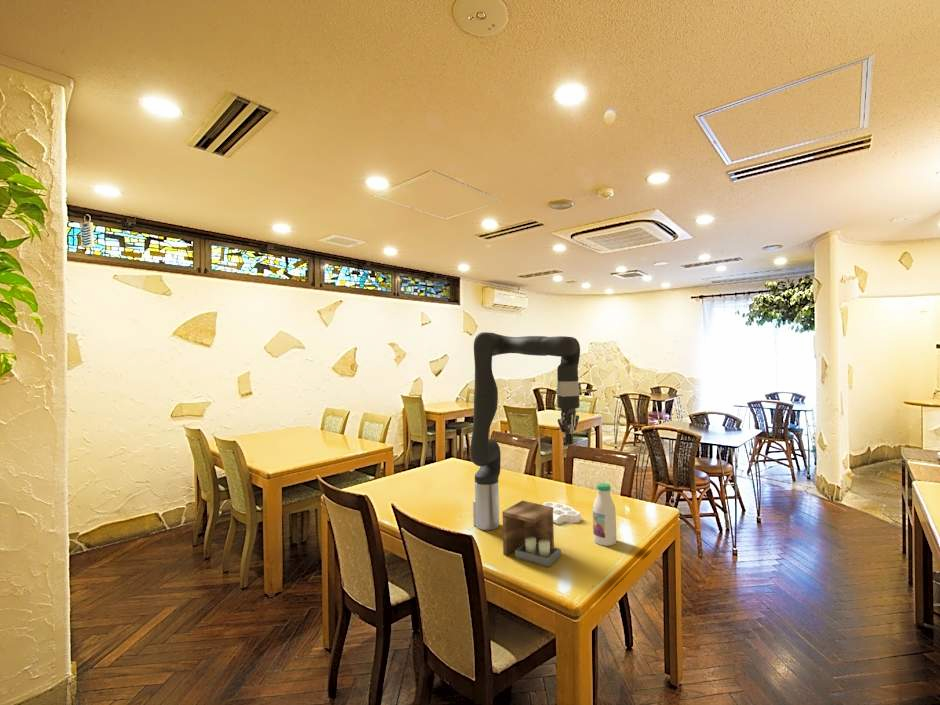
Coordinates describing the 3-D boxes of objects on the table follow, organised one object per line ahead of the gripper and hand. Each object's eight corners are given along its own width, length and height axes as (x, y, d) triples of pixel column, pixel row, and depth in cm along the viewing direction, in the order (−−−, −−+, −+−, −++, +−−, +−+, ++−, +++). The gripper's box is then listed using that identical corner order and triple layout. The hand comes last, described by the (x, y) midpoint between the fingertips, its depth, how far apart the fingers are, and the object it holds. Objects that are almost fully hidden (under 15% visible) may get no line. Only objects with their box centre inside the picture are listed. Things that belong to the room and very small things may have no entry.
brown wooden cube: (503, 554, 139) (502, 511, 139) (523, 540, 149) (522, 500, 149) (535, 564, 132) (534, 519, 132) (553, 549, 142) (552, 507, 142)
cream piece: (536, 558, 135) (536, 542, 135) (541, 553, 138) (541, 538, 138) (547, 561, 133) (546, 545, 133) (551, 556, 136) (551, 541, 136)
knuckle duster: (530, 514, 175) (555, 507, 183) (562, 528, 160) (587, 519, 168) (530, 506, 175) (555, 499, 183) (562, 520, 160) (587, 511, 168)
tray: (515, 558, 137) (514, 550, 137) (528, 548, 144) (527, 540, 144) (548, 569, 130) (548, 560, 130) (560, 557, 137) (560, 548, 137)
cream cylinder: (523, 554, 138) (523, 539, 138) (528, 550, 141) (528, 535, 141) (533, 557, 136) (532, 541, 136) (538, 553, 139) (537, 537, 139)
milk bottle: (611, 536, 151) (610, 481, 151) (620, 546, 143) (618, 487, 144) (590, 537, 151) (589, 481, 151) (597, 546, 143) (596, 488, 143)
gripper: (566, 392, 152) (567, 440, 152) (549, 395, 142) (550, 446, 141) (585, 393, 148) (587, 442, 147) (570, 396, 137) (571, 449, 137)
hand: (569, 444), depth 144 cm, fingers closed
